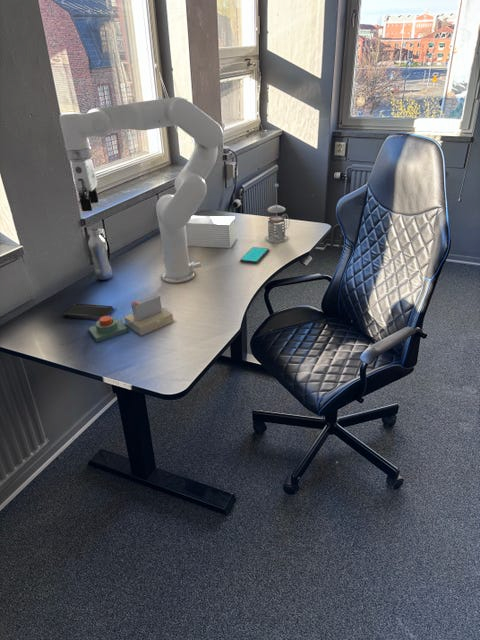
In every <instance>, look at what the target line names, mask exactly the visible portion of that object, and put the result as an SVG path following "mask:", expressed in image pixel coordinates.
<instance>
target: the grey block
mask: <svg viewBox="0 0 480 640" xmlns="http://www.w3.org/2000/svg"><path fill="white" fill-rule="evenodd" d="M130 304H131V305H130V306H131V311H132V313H133V316H134V319H135V320H137V321H140V320H142V319H145V318H147V317H150V316H152V315H155V314H157V313H159V312H162V308H163V307H162V302H161V296H160V295H158V294H156V293H154V294H152V295H149V296H147V297H144V298H142V299H139V300H136V301H132V302H131V303H130ZM161 307H162V308H161Z"/></svg>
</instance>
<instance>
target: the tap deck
mask: <svg viewBox="0 0 480 640" xmlns="http://www.w3.org/2000/svg"><path fill="white" fill-rule="evenodd" d="M161 308H162V312H159V313H157V314H155V315H152V316H150V317H147V318H145V319H142V320H140V321H137V320H135V319H134V316H133V312H131V313H129V314H127V315H124V316H123V317H124V323H125V324H124V325H125V326H126V327H128V328H130V329H131V330H132V331H134V332H136V333H137V334H138V335H139V336H141V337H142V336H144V335H145V334H148V333H150V332H153V331H155V330H158V329H160V328H163V327H165V326H167V325H169V324H171V323H174V317H173V313H172V312H170V311H168V310H167V309H166V307H163V306H161Z"/></svg>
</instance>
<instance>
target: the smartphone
mask: <svg viewBox="0 0 480 640" xmlns="http://www.w3.org/2000/svg"><path fill="white" fill-rule="evenodd" d="M269 250H270V249H269V247H268V248H266V247H257V246H256V247H255V246H253V247H251V248H250V249H249V251H247V252H246V253H245V255H243V256H242V257H241V258H240V262H241V263H249V264H258V263H259V262H260V261H261V260H262V258H264V257H265V255H267V253H269Z"/></svg>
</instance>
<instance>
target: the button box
mask: <svg viewBox="0 0 480 640" xmlns="http://www.w3.org/2000/svg"><path fill="white" fill-rule="evenodd" d="M111 318H112V324H110V325H107V326H101V324H100V320H96V322H95V325H91V326H89V327H87V329H88V333H89V334H90V335H91V336H92V337H93V339H94V341H95V342H96V343H98V342H102V341H105V340H108V339H111V338H113V337H114V338H115V337H117V336H119V335H123V334H125V333H128V327H127V325H126V324H124V322H122V320H120V318H119V317H117V318H116V317H112V316H111Z"/></svg>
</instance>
